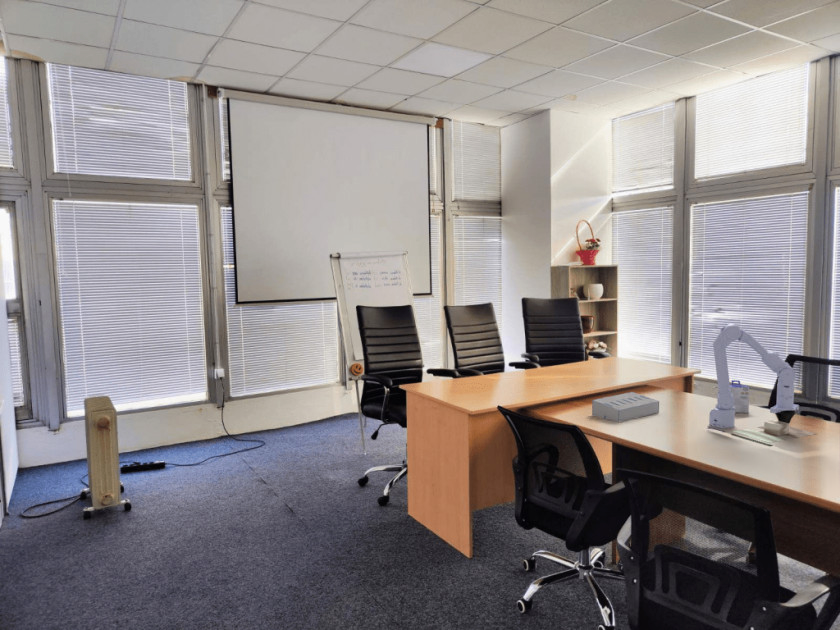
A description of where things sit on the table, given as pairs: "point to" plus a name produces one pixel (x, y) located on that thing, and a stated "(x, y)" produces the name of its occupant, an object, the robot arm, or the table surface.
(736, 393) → the ink cartridge box
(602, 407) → the warehouse
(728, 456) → the table surface
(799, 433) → the trap board
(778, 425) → the birch block
